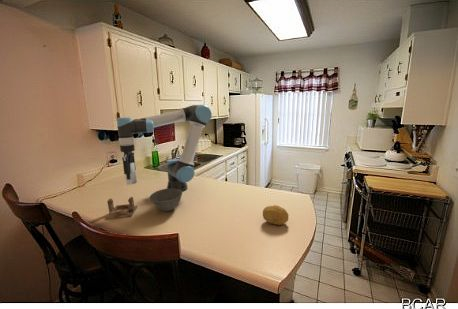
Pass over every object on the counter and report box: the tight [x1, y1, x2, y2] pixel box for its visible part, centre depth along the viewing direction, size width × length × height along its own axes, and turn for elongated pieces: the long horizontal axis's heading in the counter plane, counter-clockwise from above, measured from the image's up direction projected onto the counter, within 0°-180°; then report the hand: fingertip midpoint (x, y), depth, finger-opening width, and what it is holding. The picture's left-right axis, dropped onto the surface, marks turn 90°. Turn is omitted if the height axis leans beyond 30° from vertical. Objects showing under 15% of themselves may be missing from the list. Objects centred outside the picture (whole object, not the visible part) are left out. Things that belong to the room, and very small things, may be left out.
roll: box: [124, 162, 138, 186], centre depth 129 cm, size 6×6×12 cm
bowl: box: [149, 188, 183, 212], centre depth 131 cm, size 19×19×10 cm
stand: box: [105, 196, 138, 220], centre depth 129 cm, size 14×12×9 cm
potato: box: [262, 204, 289, 226], centre depth 112 cm, size 10×13×9 cm
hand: (131, 182), depth 130 cm, fingers closed on roll, 5 cm apart
